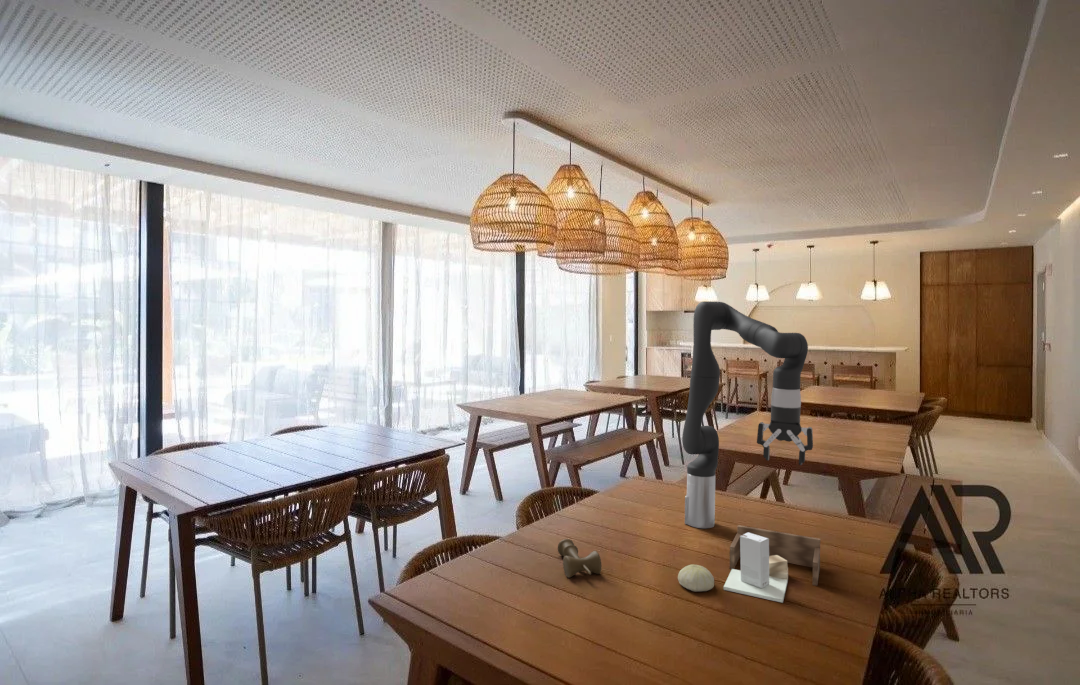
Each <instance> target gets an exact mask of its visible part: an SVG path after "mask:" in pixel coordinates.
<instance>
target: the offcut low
mask: <svg viewBox="0 0 1080 685" xmlns="http://www.w3.org/2000/svg"><path fill="white" fill-rule="evenodd" d="M769 576H770V577H775V578H780V579H785V580H788V581H789V567H787V570H784V571H777V572H771V573H769Z"/></svg>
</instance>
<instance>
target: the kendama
mask: <svg viewBox="0 0 1080 685" xmlns="http://www.w3.org/2000/svg"><path fill="white" fill-rule="evenodd" d="M557 552H558V554H559V555H560V556H561V557H563V559H562V567H563V572H564V574H565V576H566V577H567V578H568V579H569V578H572V577H574V576H575V575H576V574H578V573H580V572H585V573H587V574H589V575H592V573H593V574H596V575H599V574H601V572H602V559H601V557H600V554H599V552H598V551H597V550H593V551H591V552H590V553H589V554H588V555H587V556H584V557H580V555H579V549H578V547H577V545H575V544H574V542H573V540H571V539H570V538H564V539H562V540H560V541H559V542H558V545H557Z"/></svg>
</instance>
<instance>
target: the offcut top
mask: <svg viewBox="0 0 1080 685" xmlns="http://www.w3.org/2000/svg"><path fill="white" fill-rule="evenodd" d="M787 568H788V563H787V560H785V559H783V558H782V557H780V556H778V555H773V556H769V573H771V572H777V571H784V570H787Z"/></svg>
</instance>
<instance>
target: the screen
mask: <svg viewBox="0 0 1080 685" xmlns="http://www.w3.org/2000/svg"><path fill="white" fill-rule="evenodd" d="M736 528H737V530H736V534H735V536H734V538H733V540H732V542H731V543H730V545H729V569H731V570H732V569H735V568H736V566H737V563H738V561H739V559H740V558H741V557H740V536H741V535H743V534H745V533H748V532H749V533H752V534H755V535H759V536H762V537H765V538H769V556H773V555H778V556H780V557H782V558H783V559H785V560H787V564H794V565H798V566H799V565H800V566H804V567H808V568H812V586H816V587H817V586H818V585H819V578H820V577H819V576H820V575H819V574H820V569H821V568H820V567H821V538H818V537H812V536H806V535H802V534H801V535H799V534H793V533H788V532H782V531H777V530H770V529H763V528H758V527H752V526H746V525H740V524H738V525H737V526H736Z"/></svg>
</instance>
